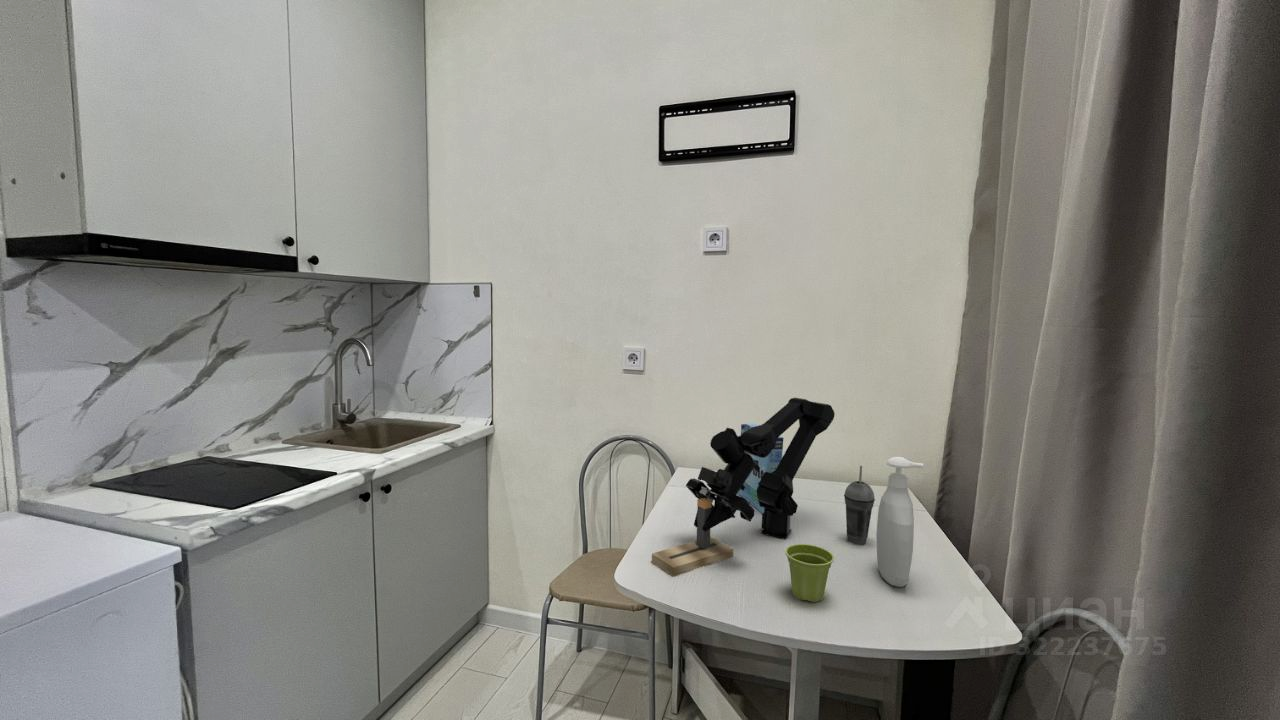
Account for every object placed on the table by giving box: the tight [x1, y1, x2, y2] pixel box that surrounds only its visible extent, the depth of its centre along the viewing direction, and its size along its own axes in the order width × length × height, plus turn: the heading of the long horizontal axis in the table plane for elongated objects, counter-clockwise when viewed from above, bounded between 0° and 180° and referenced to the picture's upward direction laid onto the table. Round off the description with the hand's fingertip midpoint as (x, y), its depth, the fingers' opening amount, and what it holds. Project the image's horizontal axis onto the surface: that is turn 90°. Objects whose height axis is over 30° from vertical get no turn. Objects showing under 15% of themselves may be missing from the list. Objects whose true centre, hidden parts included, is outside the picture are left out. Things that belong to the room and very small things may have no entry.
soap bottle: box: [875, 456, 925, 588], centre depth 113 cm, size 14×8×27 cm, turn 169°
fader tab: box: [695, 498, 713, 549], centre depth 122 cm, size 2×3×11 cm
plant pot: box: [784, 543, 835, 603], centre depth 106 cm, size 9×9×9 cm
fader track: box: [651, 536, 734, 577], centre depth 120 cm, size 18×8×2 cm, turn 125°
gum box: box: [737, 423, 785, 514], centre depth 158 cm, size 20×5×23 cm, turn 13°
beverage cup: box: [843, 465, 876, 546], centre depth 132 cm, size 7×7×20 cm
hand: (699, 528), depth 121 cm, fingers closed on fader tab, 2 cm apart
